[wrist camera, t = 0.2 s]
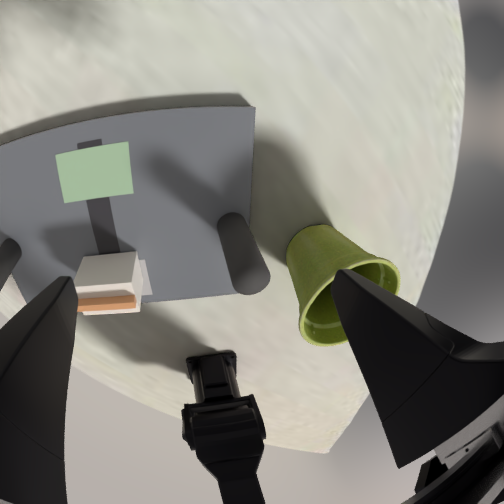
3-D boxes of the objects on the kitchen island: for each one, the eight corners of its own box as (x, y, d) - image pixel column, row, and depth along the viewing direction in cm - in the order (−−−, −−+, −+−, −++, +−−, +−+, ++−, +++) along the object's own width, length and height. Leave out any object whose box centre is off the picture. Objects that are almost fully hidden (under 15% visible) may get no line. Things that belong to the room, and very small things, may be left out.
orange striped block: (143, 279, 23) (139, 319, 19) (92, 283, 22) (82, 322, 18) (136, 251, 21) (130, 289, 18) (83, 256, 20) (68, 294, 16)
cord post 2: (245, 237, 23) (268, 292, 18) (217, 239, 23) (231, 296, 17) (246, 211, 22) (272, 262, 16) (216, 213, 22) (232, 266, 16)
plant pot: (248, 263, 27) (275, 332, 20) (314, 188, 24) (369, 238, 17) (309, 296, 31) (341, 354, 24) (366, 236, 28) (414, 286, 22)
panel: (243, 284, 28) (246, 292, 27) (33, 301, 23) (29, 309, 22) (251, 106, 18) (255, 107, 17) (-18, 152, 13) (-25, 156, 12)
